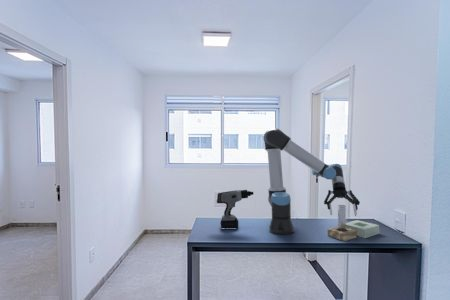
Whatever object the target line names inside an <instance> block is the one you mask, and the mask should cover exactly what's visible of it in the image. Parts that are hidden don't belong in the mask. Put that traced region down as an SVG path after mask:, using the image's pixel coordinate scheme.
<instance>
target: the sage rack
mask: <svg viewBox="0 0 450 300" xmlns="http://www.w3.org/2000/svg"><path fill="white" fill-rule="evenodd" d="M346 228H349V229H353V230H357V237H359V238H363V239H367V238H370V237H373V236H376V235H380V225H379V224H375V223H371V222H367V221H362V220H358V219H356V220H352V221H347V222H346Z"/></svg>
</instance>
